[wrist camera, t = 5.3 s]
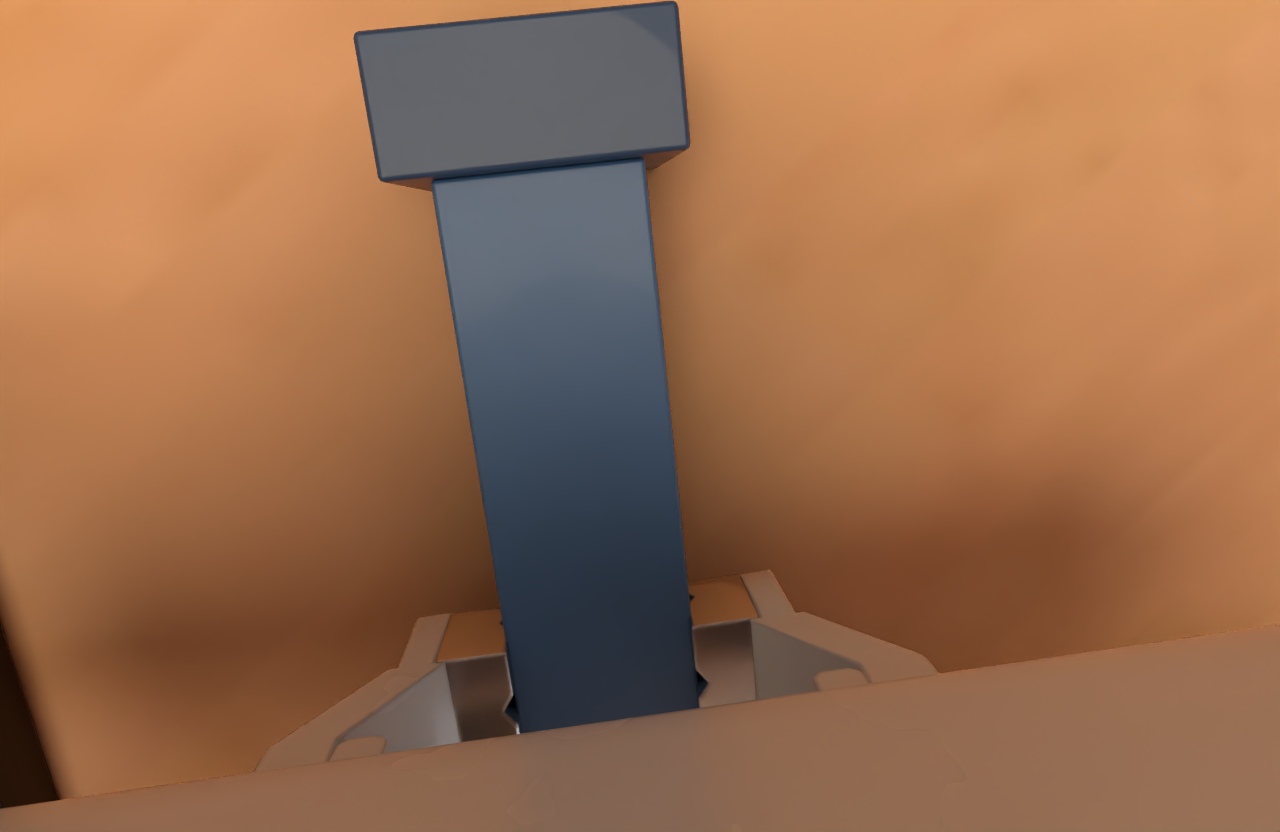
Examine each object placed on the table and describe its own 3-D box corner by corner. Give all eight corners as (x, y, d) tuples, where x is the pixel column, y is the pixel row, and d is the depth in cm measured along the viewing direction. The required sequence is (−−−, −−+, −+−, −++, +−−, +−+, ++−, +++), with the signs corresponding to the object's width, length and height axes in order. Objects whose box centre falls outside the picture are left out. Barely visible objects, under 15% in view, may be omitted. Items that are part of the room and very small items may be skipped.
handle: (648, 59, 13) (678, -2, 9) (737, 963, 17) (780, 1158, 13) (412, 83, 12) (350, 30, 9) (560, 991, 17) (558, 1197, 13)
